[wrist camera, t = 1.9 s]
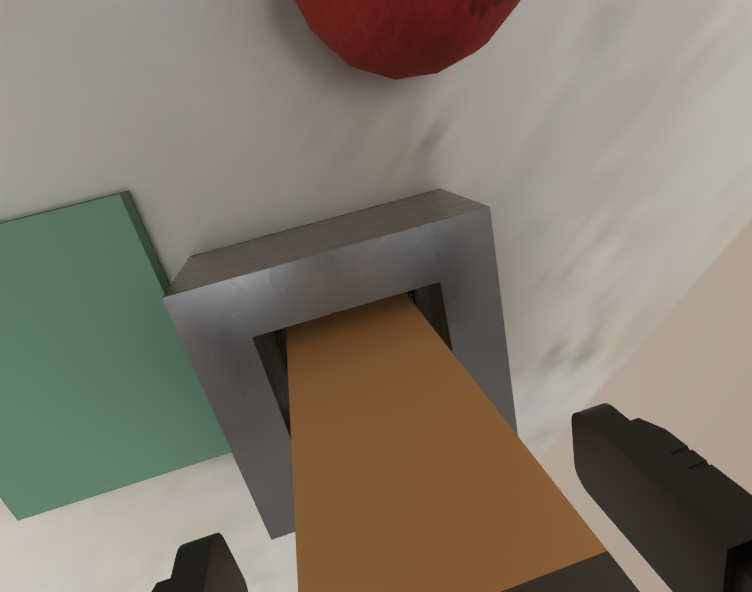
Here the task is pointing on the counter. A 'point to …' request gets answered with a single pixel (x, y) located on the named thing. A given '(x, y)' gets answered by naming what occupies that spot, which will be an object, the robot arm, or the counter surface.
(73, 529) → the counter surface
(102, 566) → the counter surface
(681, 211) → the counter surface
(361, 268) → the gray square frame
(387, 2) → the red onion
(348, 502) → the plug
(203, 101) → the counter surface
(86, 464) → the mat
